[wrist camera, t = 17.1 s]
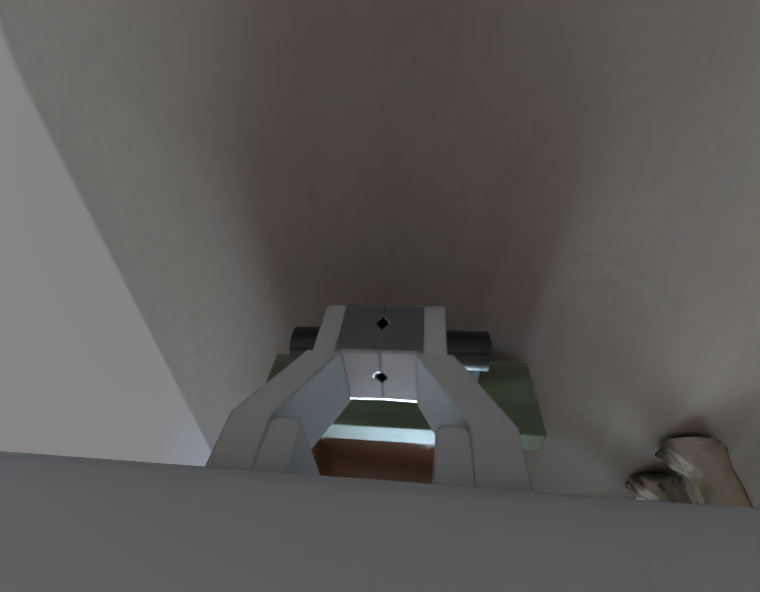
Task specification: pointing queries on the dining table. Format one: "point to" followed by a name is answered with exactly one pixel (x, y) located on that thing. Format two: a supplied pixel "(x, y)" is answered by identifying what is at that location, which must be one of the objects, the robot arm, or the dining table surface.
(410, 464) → the drawer
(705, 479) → the figurine
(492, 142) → the dining table surface
